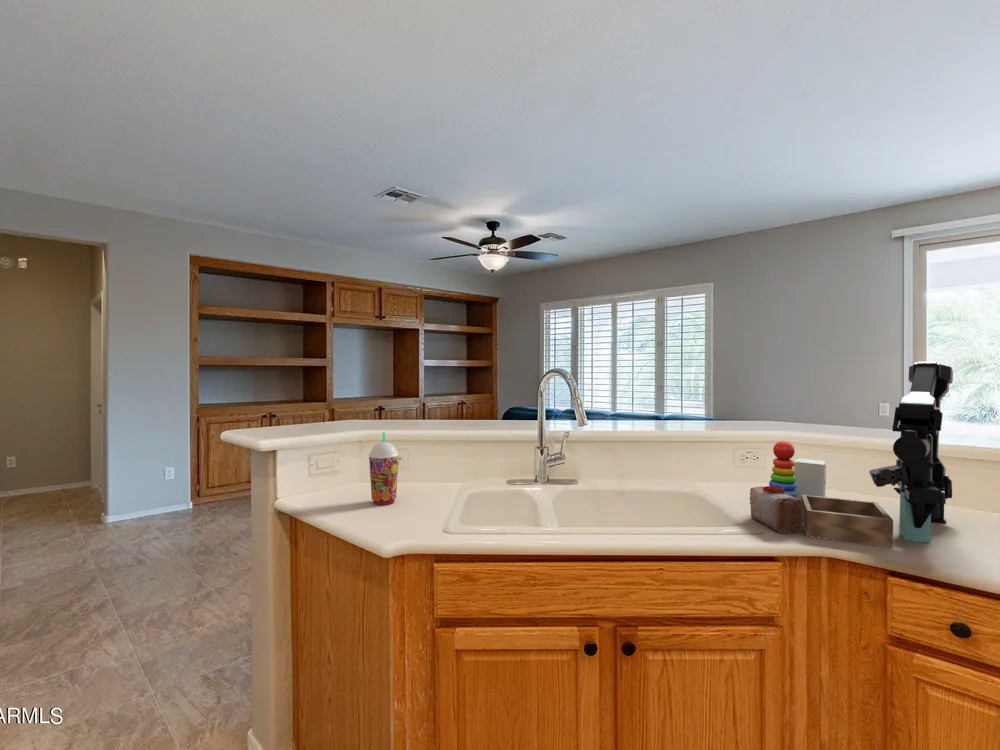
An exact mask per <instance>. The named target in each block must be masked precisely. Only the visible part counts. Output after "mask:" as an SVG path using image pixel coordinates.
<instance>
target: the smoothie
mask: <svg viewBox="0 0 1000 750" xmlns="http://www.w3.org/2000/svg"><path fill="white" fill-rule="evenodd" d="M399 456H400V453H399V452H398V451H397V448H396V447H395V445H394V444H393V443H391V442H388V441H386V432H385V431H383V432H382V441H380V442H378V443H376V444H375V445H374V446H372V449H371V451H370V453H369V454H368V461H369V462H368V463H369V473H370V475H369V477H370V493H371V500H372V501H373V504H375V505H377V506H387V505H391V504H394V502H395V499H396V498H397V492H398V491H397V489H398V488H397V487H398V472H399Z"/></svg>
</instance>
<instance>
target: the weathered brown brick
mask: <svg viewBox="0 0 1000 750" xmlns="http://www.w3.org/2000/svg"><path fill="white" fill-rule="evenodd" d="M784 487H785V486H784ZM784 487H783V488H781V487H779V486H777V485H776V486H770V485H768V486H761V485H760V486H755V487H750V491H749V501H750V502H749V505H750V517H751V519H752V520H755V521H757V522H760V523H761V524H763V525H765V526H766V527H769V528H770V529H772V530H774V531H776V532H778V533H780V534H782V533H783V534H800V533H799V532H802V530H803V523H802V506H801V505H802V501H801V500H799V499H797V498H794V497H792V496H790V495H788V494H786V493H785V490H784Z"/></svg>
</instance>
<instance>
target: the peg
mask: <svg viewBox="0 0 1000 750" xmlns="http://www.w3.org/2000/svg"><path fill="white" fill-rule="evenodd" d="M903 496H905V492H904V491H900V494H899V527H898V528H899V533H898V534H899V535H900V537H902V538H903V540H904V539H905V540H907V541H913V542H914V541H915V542H923V543H931V529H932V528H931V526H932V525H931V522H932V521H931V514H930V515H929V517H928V518H927V520H926V521H925V523H924V524H923V526H922V527H921V528H915V527H914V522H913V516H912V511H911V505H910V503H909V502H908V501H907V500H905V499H904V498H903Z"/></svg>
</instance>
